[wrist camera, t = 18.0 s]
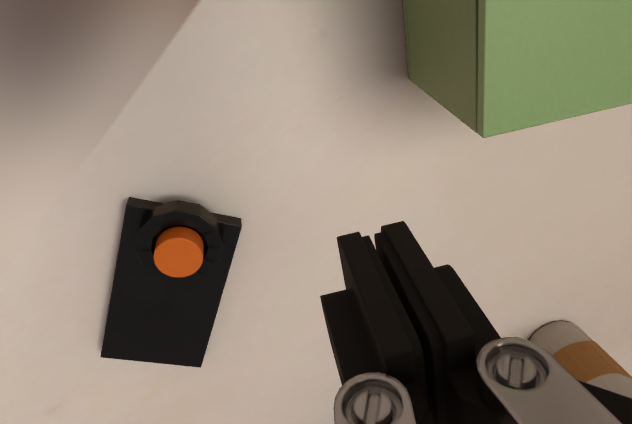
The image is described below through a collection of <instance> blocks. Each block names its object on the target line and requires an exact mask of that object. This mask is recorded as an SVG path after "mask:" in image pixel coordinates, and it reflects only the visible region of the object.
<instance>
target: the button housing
mask: <svg viewBox="0 0 632 424" xmlns="http://www.w3.org/2000/svg"><path fill="white" fill-rule="evenodd" d="M172 227H187V228H190V229H192V230H194V231H195V232H196V233H198V234H199V236H200V237H201V239H202V241H203V245H204V247H203V262H202V265H201V266H200V268H199V269H198V270H197V271H196V272H195V273H193V274H192V275H189V276H186V277H171V276H168V275H166V274H164V273H162V272H161V271H160V270H159V269H158V268H157V266H156V265H155V262H154V251H155V246H156V242H157V239H158V237H159V235H160V234H161V233H162V232H164V231H165V230H167V229H169V228H172ZM241 227H242V223H241V218H236V217H230V216H225V215H220V214H215V213H210V212H209V211H207V210H206V209H205V208H204V207H202V206H201V205H200V204H194V203H189V202H184V201H179V200H178V201H173V202H170V203H166V204H163V203H157V202H152V201H147V200H142V199H137V198H131V197H129V198H128V201H127V204H126V209H125V215H124V221H123V227H122V233H121V239H120V245H119V251H118V257H117V262H116V268H115V274H114V280H113V286H112V292H111V298H110V304H109V310H108V316H107V321H106V327H105V333H104V339H103V345H102V351H101V357H103V358H113V359H123V360H133V361H143V362H153V363H162V364H172V365H182V366H192V367H201V365H202V362H203V358H204V355H205V352H206V348H207V345H208V341H209V338H210V334H211V331H212V327H213V324H214V320H215V317H216V314H217V310H218V307H219V303H220V300H221V296H222V293H223V289H224V286H225V283H226V279H227V276H228V272H229V269H230V265H231V262H232V258H233V255H234V251H235V248H236V245H237V241H238V238H239V234H240V231H241Z"/></svg>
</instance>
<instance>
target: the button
mask: <svg viewBox="0 0 632 424" xmlns="http://www.w3.org/2000/svg"><path fill="white" fill-rule="evenodd" d="M203 247H204V245H203V241H202V239H201V237H200V236H199V234H198V233H196V232H195V231H194V230H192V229H190V228H187V227H172V228H169V229H167V230H165V231H164V232H162V233H161V234H160V235H159V237H158V239H157V242H156V246H155V251H154V262H155V265H156V266H157V268H158V269H159V270H160V271H161V272H162V273H164V274H166V275H168V276H171V277H186V276H189V275H192V274H193V273H195V272H196V271H197V270H198V269H199V268H200V266H201V265H202V262H203Z"/></svg>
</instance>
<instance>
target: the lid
mask: <svg viewBox="0 0 632 424" xmlns="http://www.w3.org/2000/svg"><path fill="white" fill-rule="evenodd" d="M631 103H632V0H479V6H478V101H477V133H478V134H479V135H480V136H481V137H482V138H486V137H490V136H494V135H498V134H503V133H507V132H511V131H516V130H520V129H524V128H528V127H533V126H537V125H541V124H546V123H550V122H554V121H558V120H563V119H567V118H571V117H576V116H580V115H584V114H588V113H593V112H597V111H601V110H606V109H610V108H614V107H619V106H623V105H627V104H631Z"/></svg>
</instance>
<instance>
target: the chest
mask: <svg viewBox="0 0 632 424" xmlns="http://www.w3.org/2000/svg"><path fill="white" fill-rule="evenodd" d="M478 6H479V0H403V12H404V25H405V38H406V51H407V64H408V77H409V79H410V80H411V81H412V82H413V83H414V84H416V85H417V86H418V87H419V88H421V89H422V90H423V91H424V92H426V93H427V94H428V95H429V96H431V97H432V98H433V99H434V100H436V101H437V102H438V103H440V104H441V105H442V106H443V107H445V108H446V109H447V110H448V111H450V112H451V113H452V114H453V115H455V116H456V117H457V118H458V119H460V120H461V121H462V122H463V123H465V124H466V125H467V126H468V127H470V128H471V129H472V130H473V131H475V132H476V133H477V101H478Z"/></svg>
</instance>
